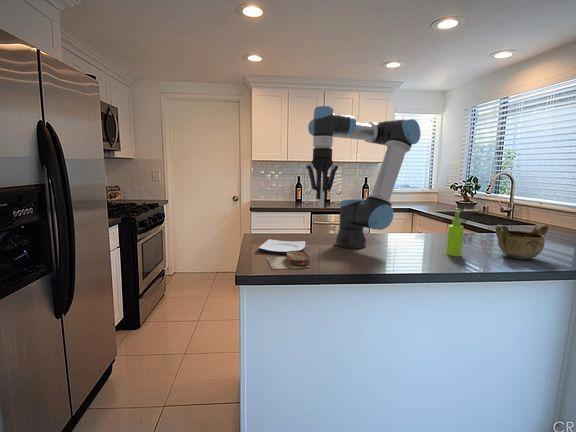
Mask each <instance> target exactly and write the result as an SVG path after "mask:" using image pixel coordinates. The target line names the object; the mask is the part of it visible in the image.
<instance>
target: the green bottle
mask: <svg viewBox="0 0 576 432" xmlns="http://www.w3.org/2000/svg"><path fill="white" fill-rule="evenodd" d="M454 213H455V214H454V216H453V218H452V223H451V224H449V225H448V234H447V244H446V245H447V246H446V254H447V255H448V256H451V257H461V256H462V247H463V237H464V229H465V228H464V226H463V225H461V223H462V218H461V217H460V215H461V214H460V213H461V210H459V209H457V210H456V209H455V210H454Z"/></svg>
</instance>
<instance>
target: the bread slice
mask: <svg viewBox="0 0 576 432" xmlns="http://www.w3.org/2000/svg"><path fill="white" fill-rule="evenodd" d="M285 255H286V256H285V257H286V258H287V260H288V262H289V263H290V264H291V265H293V266H307V265H309V266H310V263H311V257H310V256H309V255H308V253H306V252H305V251H303V250H302V251H288V252H286V254H285Z"/></svg>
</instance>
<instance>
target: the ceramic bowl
mask: <svg viewBox="0 0 576 432" xmlns="http://www.w3.org/2000/svg"><path fill="white" fill-rule="evenodd" d="M548 230H549V226H548V224H545V223H544V224H543V223H538V224H536V225H535V226H534V227H533V229H532V231H527V230H526V231H523V230H515V229H509V228H508V227H507V225H504V224H496V226H495V233H496V237H497V241H498V242H497V243H498V247H499V249H500V250H501V252H502V253H503V254H504V255H506V256H507V257H510V258H512V259H516V260H530V259H532V258H535V257H537V256H539V255H541V254H542V252H543V250H544V247H545V244H546V243H545V236H546V234H547V233H548Z"/></svg>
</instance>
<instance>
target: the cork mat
mask: <svg viewBox="0 0 576 432" xmlns="http://www.w3.org/2000/svg"><path fill="white" fill-rule="evenodd" d="M265 259H266V261H267V263H268V264H269V266H270V268H271V270H272V271H273V270H293V269H295V270H296V269H311V268H312V267H311V265H310V264H309V265H307V266H293V265H291V264H290V263H289V262H288V260H287V258H286V256H274V257H273V256H272V257H271V256H270V257H265Z"/></svg>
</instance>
